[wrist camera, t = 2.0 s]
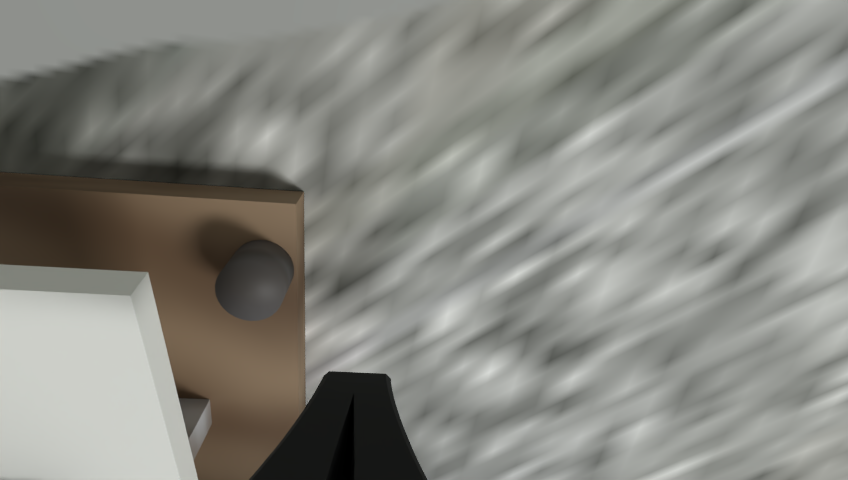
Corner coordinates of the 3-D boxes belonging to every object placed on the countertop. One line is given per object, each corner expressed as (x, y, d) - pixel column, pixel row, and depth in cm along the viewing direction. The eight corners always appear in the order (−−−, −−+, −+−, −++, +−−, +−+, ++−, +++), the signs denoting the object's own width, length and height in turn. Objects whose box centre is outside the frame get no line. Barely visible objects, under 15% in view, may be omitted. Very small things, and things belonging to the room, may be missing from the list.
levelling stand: (306, 538, 26) (289, 626, 22) (-32, 531, 25) (-112, 622, 21) (303, 191, 19) (279, 231, 15) (-160, 161, 18) (-311, 196, 14)
